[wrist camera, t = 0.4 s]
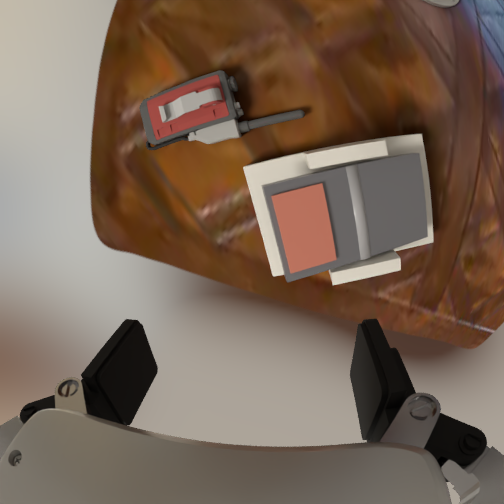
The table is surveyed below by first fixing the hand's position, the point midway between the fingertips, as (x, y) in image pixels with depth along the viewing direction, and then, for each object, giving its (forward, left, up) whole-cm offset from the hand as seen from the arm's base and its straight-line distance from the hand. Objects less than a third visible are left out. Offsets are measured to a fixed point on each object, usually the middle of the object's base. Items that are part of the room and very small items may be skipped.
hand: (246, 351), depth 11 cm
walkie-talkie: (+4, -14, -26) cm, 30 cm away
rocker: (-9, +1, -19) cm, 21 cm away
